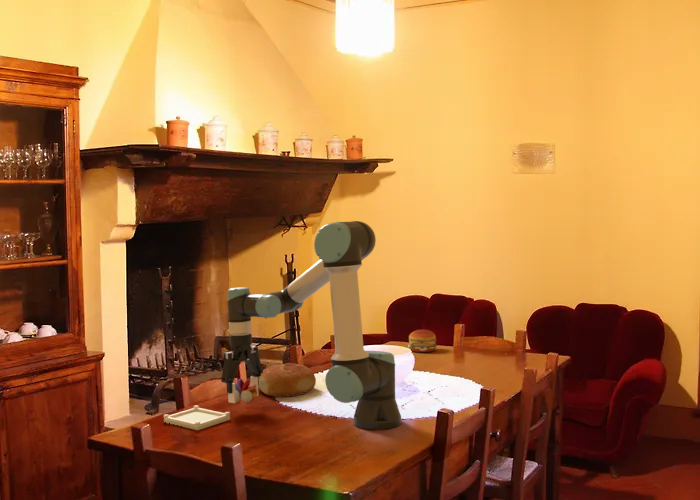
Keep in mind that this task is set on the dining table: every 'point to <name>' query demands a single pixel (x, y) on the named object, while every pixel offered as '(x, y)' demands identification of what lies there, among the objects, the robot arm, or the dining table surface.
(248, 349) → the robot arm
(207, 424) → the white square tray
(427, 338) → the burger
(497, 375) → the dining table surface
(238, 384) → the colourful fan
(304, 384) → the bread
